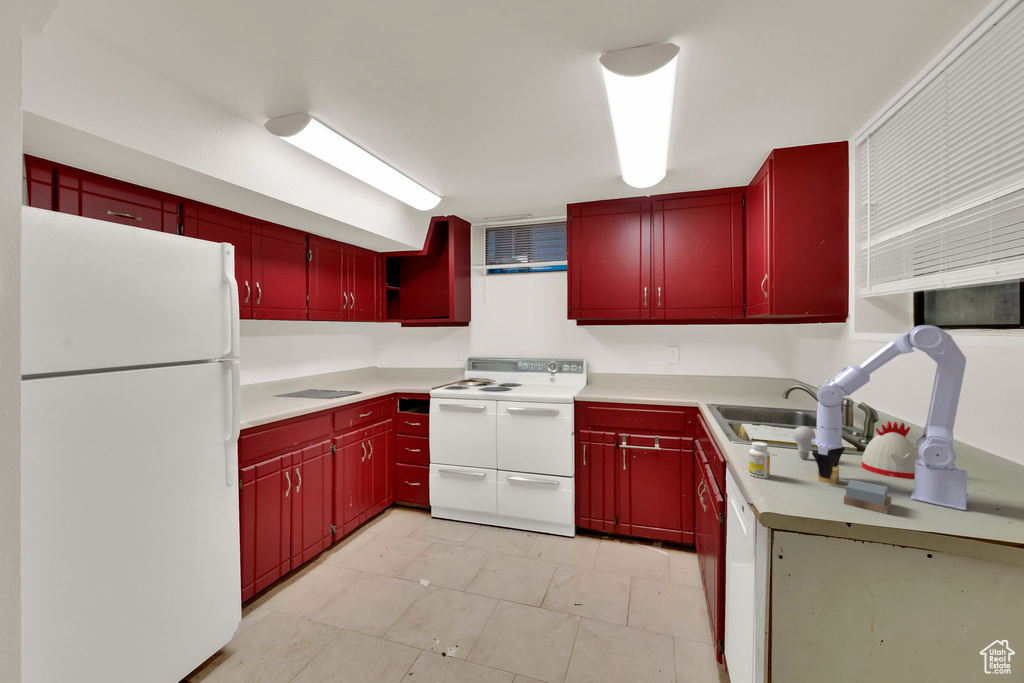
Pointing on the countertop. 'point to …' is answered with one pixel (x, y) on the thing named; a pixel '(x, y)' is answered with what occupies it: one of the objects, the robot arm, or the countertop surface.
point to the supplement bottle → (759, 460)
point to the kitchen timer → (891, 453)
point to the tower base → (869, 504)
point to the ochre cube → (834, 476)
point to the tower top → (866, 492)
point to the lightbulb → (804, 440)
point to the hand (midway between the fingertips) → (828, 474)
